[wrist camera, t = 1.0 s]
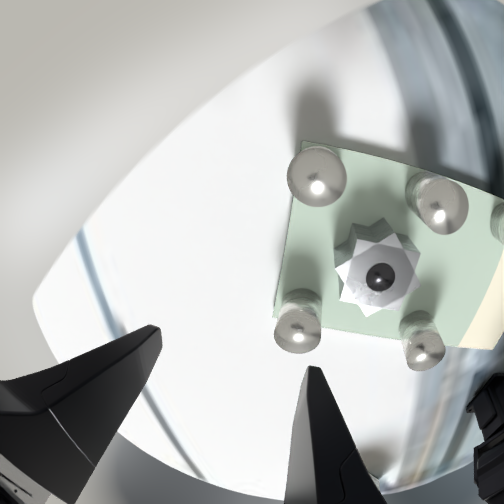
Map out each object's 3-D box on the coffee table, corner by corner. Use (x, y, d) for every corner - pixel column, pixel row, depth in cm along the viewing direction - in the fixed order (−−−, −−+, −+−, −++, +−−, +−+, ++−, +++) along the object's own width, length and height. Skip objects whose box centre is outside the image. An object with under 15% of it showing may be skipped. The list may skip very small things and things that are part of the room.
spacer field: (520, 207, 13) (547, 222, 10) (461, 346, 19) (474, 374, 16) (296, 140, 16) (291, 141, 13) (268, 315, 22) (259, 345, 18)
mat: (544, 219, 13) (549, 222, 13) (489, 344, 19) (492, 349, 18) (302, 140, 17) (301, 141, 16) (274, 311, 22) (272, 317, 22)
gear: (421, 226, 16) (437, 243, 14) (396, 298, 19) (405, 323, 16) (342, 207, 17) (346, 221, 14) (323, 285, 20) (323, 309, 17)
